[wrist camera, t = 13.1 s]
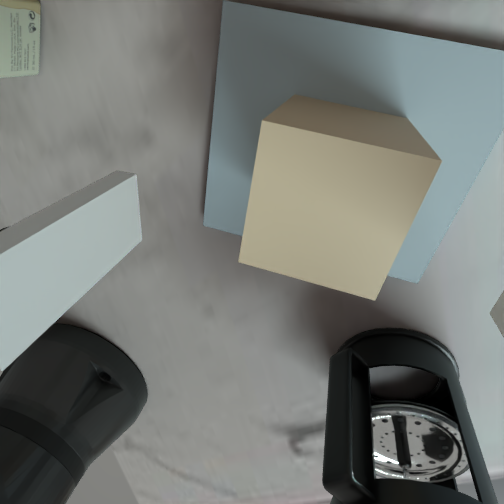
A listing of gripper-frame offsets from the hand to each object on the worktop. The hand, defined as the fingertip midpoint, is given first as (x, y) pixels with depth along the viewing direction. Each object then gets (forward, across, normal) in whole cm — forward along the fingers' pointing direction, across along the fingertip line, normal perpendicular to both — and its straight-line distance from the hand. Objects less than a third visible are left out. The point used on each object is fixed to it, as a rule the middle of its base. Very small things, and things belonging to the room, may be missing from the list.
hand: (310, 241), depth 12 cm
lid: (+11, +1, 0) cm, 11 cm away
